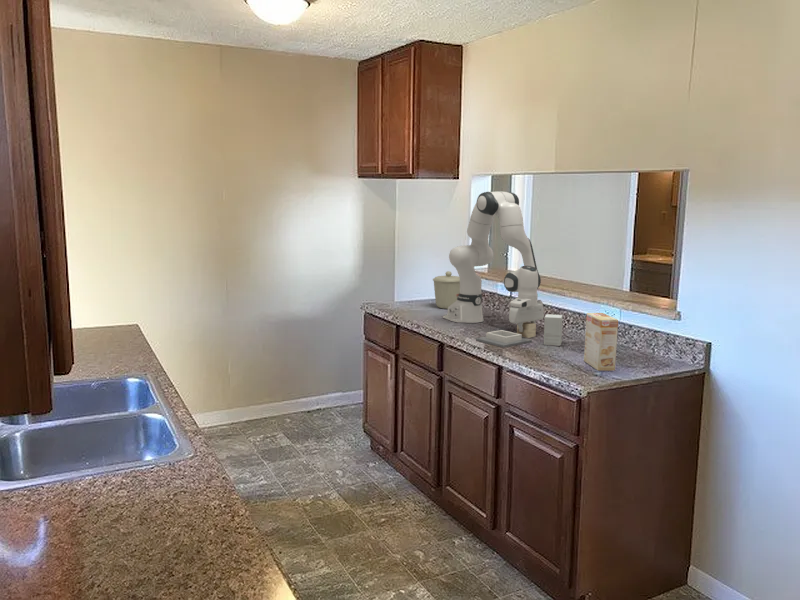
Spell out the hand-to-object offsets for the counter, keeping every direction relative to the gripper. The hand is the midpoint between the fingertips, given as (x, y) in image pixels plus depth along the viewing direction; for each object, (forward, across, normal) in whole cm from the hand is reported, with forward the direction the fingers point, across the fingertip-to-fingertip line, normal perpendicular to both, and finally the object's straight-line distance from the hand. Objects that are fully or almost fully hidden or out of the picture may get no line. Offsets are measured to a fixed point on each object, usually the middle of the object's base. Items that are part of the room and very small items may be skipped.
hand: (526, 330), depth 306 cm
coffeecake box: (+3, +18, +53) cm, 56 cm away
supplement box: (+3, +3, +18) cm, 18 cm away
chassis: (+2, +17, +2) cm, 17 cm away
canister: (+2, -21, -78) cm, 81 cm away
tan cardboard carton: (+2, 0, 0) cm, 2 cm away
